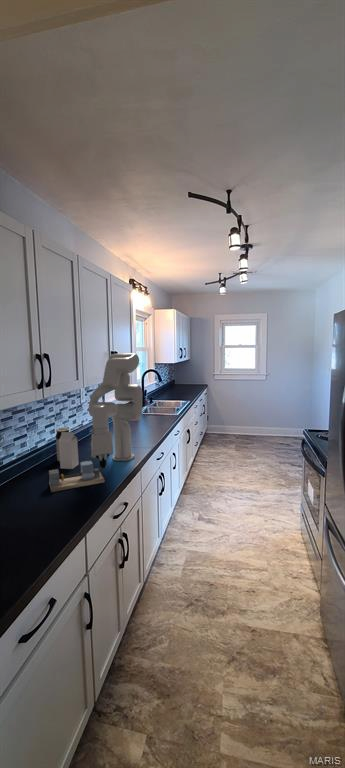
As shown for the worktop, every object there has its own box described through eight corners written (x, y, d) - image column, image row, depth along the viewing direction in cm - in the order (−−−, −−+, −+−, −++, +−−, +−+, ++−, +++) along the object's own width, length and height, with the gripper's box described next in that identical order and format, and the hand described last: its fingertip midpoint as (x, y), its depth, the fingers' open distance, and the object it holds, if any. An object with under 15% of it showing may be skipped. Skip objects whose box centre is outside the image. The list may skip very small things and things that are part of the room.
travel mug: (60, 457, 204) (58, 427, 203) (73, 457, 204) (71, 427, 202) (55, 462, 197) (53, 431, 195) (69, 461, 196) (67, 430, 194)
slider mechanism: (49, 484, 164) (48, 469, 163) (100, 475, 174) (99, 460, 173) (51, 492, 155) (50, 475, 154) (104, 482, 165) (103, 466, 164)
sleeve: (81, 476, 168) (80, 462, 167) (91, 474, 170) (90, 460, 169) (83, 480, 162) (82, 465, 162) (94, 478, 164) (93, 464, 164)
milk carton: (72, 469, 184) (70, 434, 182) (60, 468, 185) (57, 434, 183) (78, 464, 191) (76, 430, 189) (67, 464, 192) (64, 430, 190)
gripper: (86, 434, 160) (89, 472, 162) (118, 430, 166) (120, 467, 168) (83, 430, 167) (86, 467, 169) (114, 427, 173) (116, 462, 175)
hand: (103, 467), depth 169 cm, fingers closed
